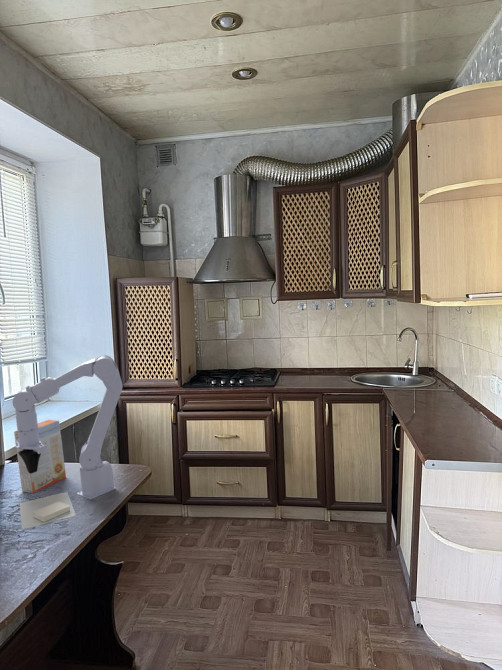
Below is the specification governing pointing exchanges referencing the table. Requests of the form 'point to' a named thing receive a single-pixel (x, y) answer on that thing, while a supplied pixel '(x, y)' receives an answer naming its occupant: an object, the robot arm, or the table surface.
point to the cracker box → (44, 459)
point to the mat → (40, 503)
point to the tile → (51, 511)
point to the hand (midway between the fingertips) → (32, 472)
